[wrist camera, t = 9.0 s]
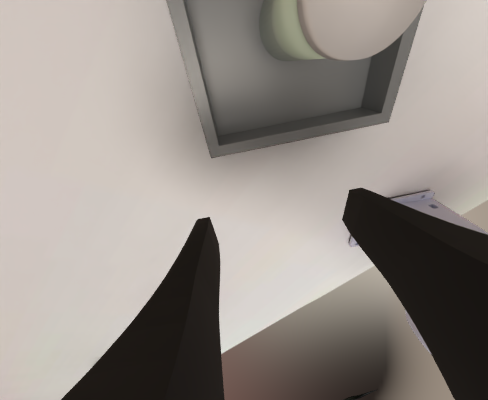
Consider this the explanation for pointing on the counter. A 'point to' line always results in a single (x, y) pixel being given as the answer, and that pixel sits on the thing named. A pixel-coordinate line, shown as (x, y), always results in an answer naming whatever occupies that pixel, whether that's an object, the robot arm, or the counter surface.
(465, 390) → the robot arm
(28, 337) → the counter surface
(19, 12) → the counter surface
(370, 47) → the shaker
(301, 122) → the tray
